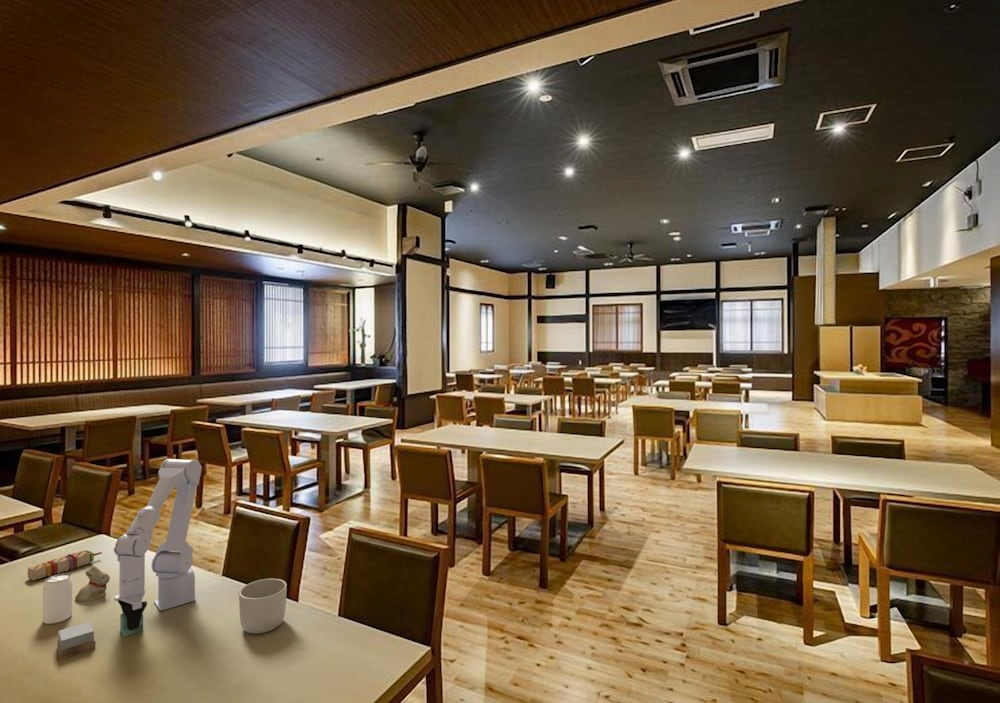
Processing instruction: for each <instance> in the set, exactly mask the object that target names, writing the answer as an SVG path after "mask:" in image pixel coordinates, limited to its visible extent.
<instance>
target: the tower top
mask: <svg viewBox="0 0 1000 703" xmlns="http://www.w3.org/2000/svg"><path fill="white" fill-rule="evenodd" d="M57 637H58V639H57V642H58V641H59V644H60V648H61V651H62V650H65V649H68V648H71V647H74V646H78V645H81V644H84V643H87V642H90V641H94V638H95V630H94V628H93V625H92V622H91V621H87V622H84V623H80V624H77V625H74V626H70V627H67V628H64V629H60V630H58V636H57Z"/></svg>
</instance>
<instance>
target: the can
mask: <svg viewBox="0 0 1000 703" xmlns="http://www.w3.org/2000/svg"><path fill="white" fill-rule="evenodd" d="M71 616H73V578H72V577H71V574H70V573H58V574H55V575H51V576H49V577H47V578H46V579H45V580H44V584H43V586H42V623H44V624H45V625H55V624H60V623H62V622H64V621H67V620H68V619H69V618H71Z"/></svg>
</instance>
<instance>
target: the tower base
mask: <svg viewBox="0 0 1000 703" xmlns="http://www.w3.org/2000/svg"><path fill="white" fill-rule="evenodd" d="M56 649H57V652H58V656H59V659H60V660H61V661H62V660H63V659H66V658H69V657H73V656H76V655H79V654H81V653H82V654H83V653H85V652H88V651H91V650H95V649H96V638H95V637H94V641H90V642H87V643H84V644H81V645H78V646H74V647H71V648H68V649H65V650H62V651H61V648H60V644H59V641H58V640H57V648H56Z"/></svg>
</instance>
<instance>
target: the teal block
mask: <svg viewBox="0 0 1000 703" xmlns="http://www.w3.org/2000/svg"><path fill="white" fill-rule="evenodd" d="M119 624H120V625H119V627H120V629H119V630H120V632H121V635H122V638H123V637H124V638H125V637H127V636H131V635H134V634H137V633H140V632H143V631H144V612H143V613H142V616H141V620H140V624H139V627H138V628H137V629H134V630H131V631H129V629H128V625H127V619H126V616H125V613H123V612H122V613H120V623H119Z"/></svg>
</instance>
